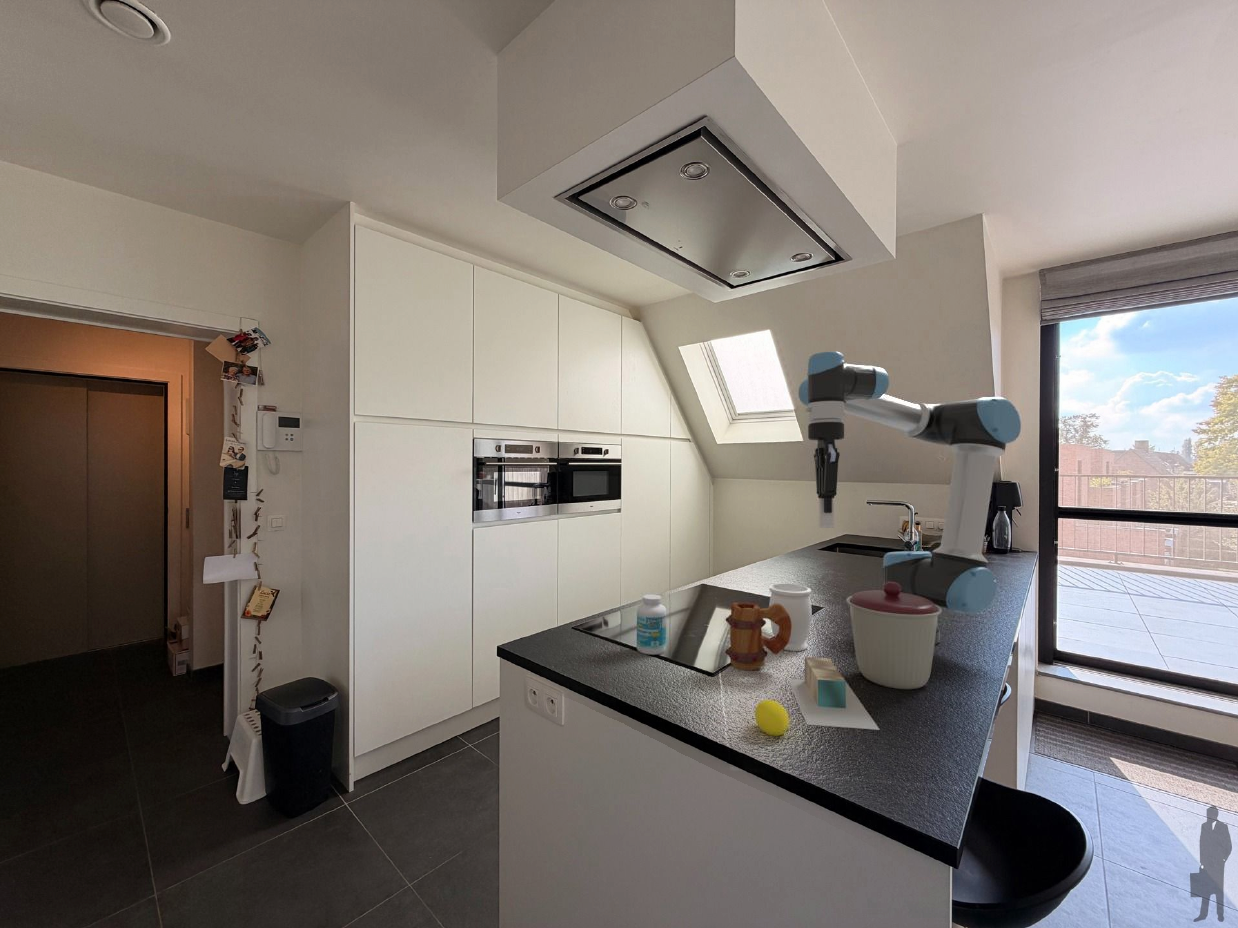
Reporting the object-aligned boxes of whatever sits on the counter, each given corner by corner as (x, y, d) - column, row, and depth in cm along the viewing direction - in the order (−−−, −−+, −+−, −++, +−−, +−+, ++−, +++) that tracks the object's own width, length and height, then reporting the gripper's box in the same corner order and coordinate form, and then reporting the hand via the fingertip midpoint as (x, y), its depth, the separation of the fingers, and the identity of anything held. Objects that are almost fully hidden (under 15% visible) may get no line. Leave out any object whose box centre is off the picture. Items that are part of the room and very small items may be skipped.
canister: (931, 707, 98) (930, 596, 98) (834, 680, 110) (833, 582, 110) (950, 679, 111) (949, 581, 111) (862, 658, 123) (861, 570, 124)
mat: (846, 684, 108) (846, 682, 108) (879, 731, 88) (879, 729, 88) (787, 680, 110) (787, 678, 110) (807, 726, 90) (807, 724, 90)
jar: (818, 653, 127) (817, 592, 127) (775, 653, 127) (775, 592, 127) (803, 639, 137) (803, 583, 137) (764, 639, 137) (764, 582, 138)
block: (845, 708, 96) (829, 682, 108) (845, 681, 96) (829, 658, 108) (818, 706, 97) (804, 680, 109) (817, 679, 97) (804, 657, 109)
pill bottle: (632, 653, 126) (632, 598, 127) (642, 644, 133) (642, 591, 133) (661, 657, 124) (661, 601, 124) (670, 647, 130) (670, 594, 131)
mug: (722, 670, 115) (722, 603, 116) (727, 658, 123) (727, 595, 123) (791, 680, 110) (791, 609, 111) (792, 666, 118) (792, 601, 118)
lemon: (796, 741, 86) (798, 711, 86) (769, 747, 84) (772, 716, 84) (770, 717, 93) (772, 689, 92) (744, 722, 91) (747, 693, 90)
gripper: (802, 425, 122) (803, 524, 122) (814, 419, 109) (815, 530, 109) (835, 424, 121) (836, 524, 121) (852, 419, 108) (852, 530, 108)
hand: (826, 527), depth 115 cm, fingers closed
